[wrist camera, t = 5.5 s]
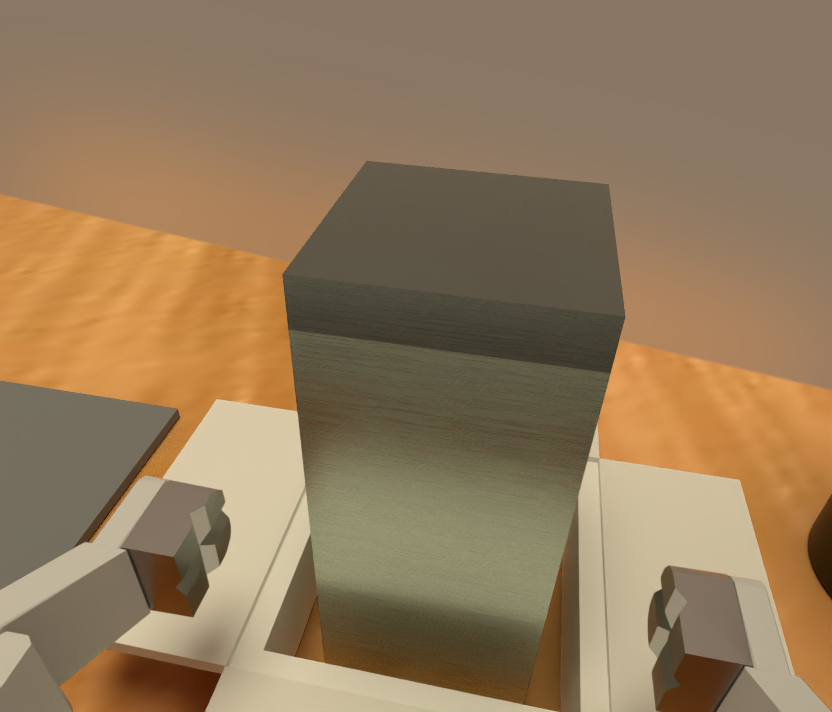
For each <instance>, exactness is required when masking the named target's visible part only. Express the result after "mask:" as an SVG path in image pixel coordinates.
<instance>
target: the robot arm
mask: <svg viewBox="0 0 832 712" xmlns="http://www.w3.org/2000/svg"><path fill="white" fill-rule="evenodd" d="M225 502H226V501H225V498H224V494H223V491H222V490H219V489H213V488H208V487H203V486H198V485H193V484H188V483H183V482H178V481H173V480H168V479H162V478H157V477H151V476H144V477H143V478H141V479H140V480H138V481H137V482H136V484H135V485H134V486H133V488H132V489H131V490H130V492H129V493H128V495H127V496H126V497H125V499H124V500H123V501H122V503H121V504H120V506H119V507H118V508H117V510H116V511H115V512H114V514H113V515H112V516H111V518H110V519H109V521H108V522H107V523H106V525H105V526H104V527H103V529H102V530H101V532H100V533H99V534H98V536H97V537H96V538H95V540H94V541H93V542H92V543H88V542H84V543H82V544H80V545H79V546H77V547H75V548H73V549H72V550H70V551H68V552H66V553H65V554H63V555H61V556H59V557H58V558H56V559H54V560H52V561H51V562H49V563H47V564H45V565H44V566H42V567H40V568H38V569H36V570H35V571H33V572H31V573H29V574H28V575H26V576H24V577H22V578H21V579H19V580H17V581H15V582H14V583H12V584H10V585H8V586H7V587H5V588H3V589H1V590H0V712H73V708H72V705H71V703H70V702H69V700H68V699H67V697H66V695H65V694H64V692H63V690H62V689H61V687H60V686H61V685H62V684H63V683H64V682H66V681H67V680H68V679H69V678H71V677H72V676H73V675H74V674H76V673H77V672H78V671H79V670H80V669H82V668H83V667H84V666H85V665H87V664H88V663H89V662H90V661H92V660H93V659H94V658H95V657H97V656H98V655H99V654H100V653H102V652H103V651H104V650H105V649H106V648H108V647H109V646H110V645H111V644H113V643H114V642H115V641H116V640H118V639H119V638H120V637H121V636H123V635H124V634H125V633H126V632H128V631H129V630H130V629H131V628H132V627H134V626H135V625H136V624H137V623H139V622H140V621H141V620H142V619H144V618H145V617H146V616H147V615H149V614H150V610H152V611H158V612H164V613H170V614H176V615H182V616H187V617H194V615H195V613H196V611H197V610H198V608H199V606H200V604H201V602H202V600H203V598H204V596H205V594H206V592H207V590H208V588H209V581H208V577H207V574H209V573H210V572H212V571H213V570H215V569H216V568H218V567H219V566H220V565H221V563H222V561H223V559H224V557H225V555H226V553H227V549H228V545H229V542H230V538H231V524H230V519H229V517H228V516H227V515H226V514H225V513H224V512H223V511H222V508H223V506H224V504H225ZM660 578H661V586H662V589H661V590H659V591H657V592H654V594H653V597H652V600H651V602H650V606H649V613H648V643H649V648H650V649H651V650H652V652H653V653H654V654H655V656H656V657H657V661H656V663H655V665H654V667H653V669H652V681H653V690H654V699H655V708H656V711H660V712H831V711H830V709H829V708H828V707H827V706H826V705H825V704H824V703H823V702H822V700H821V699H820V698H819V697H818V696H817V695H816V694H815V693H814V691H813V690H812V689H811V688H810V687H809V686H808V685H807V684H806V682H805V681H804V680H803V679H802V678H801V677H798V676H794V675H791V673H790V670H789V666H788V663H787V659H786V656H785V652H784V649H783V645H782V642H781V638H780V635H779V631H778V628H777V625H776V621H775V618H774V614H773V611H772V607H771V604H770V600H769V597H768V593H767V590H766V587H765V586H764V584H763V583H762V582H761V581H759V580H754V579H747V578H741V577H735V576H728V575H727V574H722V573H715V572H709V571H702V570H696V569H690V568H683V567H677V566H670V565H668V566H667V567H666V568H664V570H663V573H662V575H661V577H660Z"/></svg>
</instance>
